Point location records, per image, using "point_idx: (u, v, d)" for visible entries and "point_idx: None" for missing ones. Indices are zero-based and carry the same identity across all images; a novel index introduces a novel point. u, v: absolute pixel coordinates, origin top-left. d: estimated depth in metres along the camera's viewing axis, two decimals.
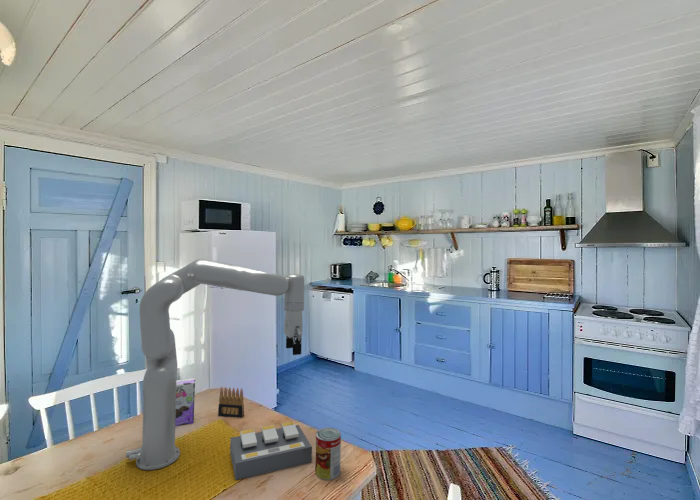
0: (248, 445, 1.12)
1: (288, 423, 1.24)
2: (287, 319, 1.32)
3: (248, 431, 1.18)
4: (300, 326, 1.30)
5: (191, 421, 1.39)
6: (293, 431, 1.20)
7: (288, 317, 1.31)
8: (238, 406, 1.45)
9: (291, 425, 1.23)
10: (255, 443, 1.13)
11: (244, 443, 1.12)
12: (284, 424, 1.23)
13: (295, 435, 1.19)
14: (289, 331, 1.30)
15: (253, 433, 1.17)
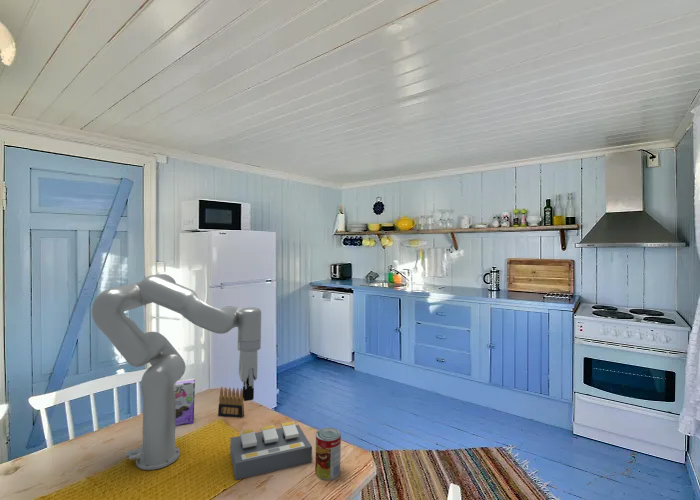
0: (248, 445, 1.12)
1: (288, 423, 1.24)
2: (240, 359, 1.16)
3: (248, 431, 1.18)
4: (254, 368, 1.14)
5: (191, 421, 1.39)
6: (293, 431, 1.20)
7: (241, 357, 1.15)
8: (238, 406, 1.45)
9: (291, 425, 1.23)
10: (255, 443, 1.13)
11: (244, 443, 1.12)
12: (284, 424, 1.23)
13: (295, 435, 1.19)
14: (242, 374, 1.14)
15: (253, 433, 1.17)
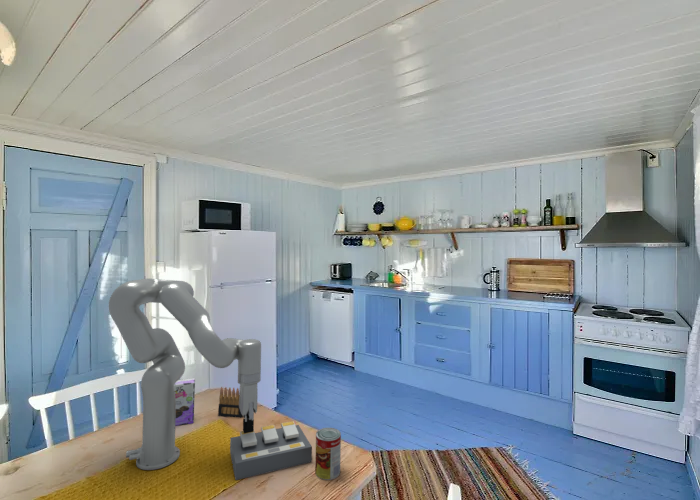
0: (248, 444, 1.12)
1: (288, 423, 1.24)
2: (240, 392, 1.17)
3: None
4: (254, 401, 1.15)
5: (191, 421, 1.39)
6: (293, 431, 1.20)
7: (241, 391, 1.16)
8: (238, 406, 1.45)
9: (291, 425, 1.23)
10: (255, 442, 1.13)
11: (244, 442, 1.12)
12: (284, 424, 1.23)
13: (295, 435, 1.19)
14: (242, 408, 1.14)
15: (253, 433, 1.18)
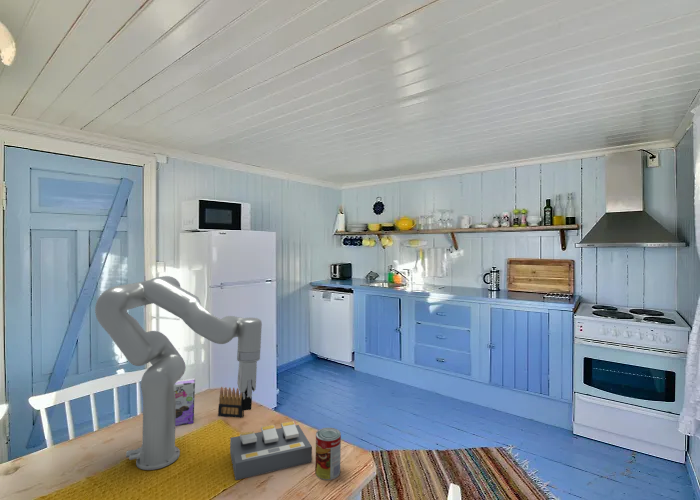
0: (248, 441, 1.13)
1: (288, 423, 1.24)
2: (239, 370, 1.16)
3: (248, 433, 1.18)
4: (253, 379, 1.14)
5: (191, 421, 1.39)
6: (293, 431, 1.20)
7: (240, 368, 1.15)
8: (238, 406, 1.45)
9: (291, 425, 1.23)
10: (255, 439, 1.14)
11: (244, 439, 1.13)
12: (284, 424, 1.23)
13: (295, 435, 1.19)
14: (240, 385, 1.14)
15: (253, 433, 1.18)
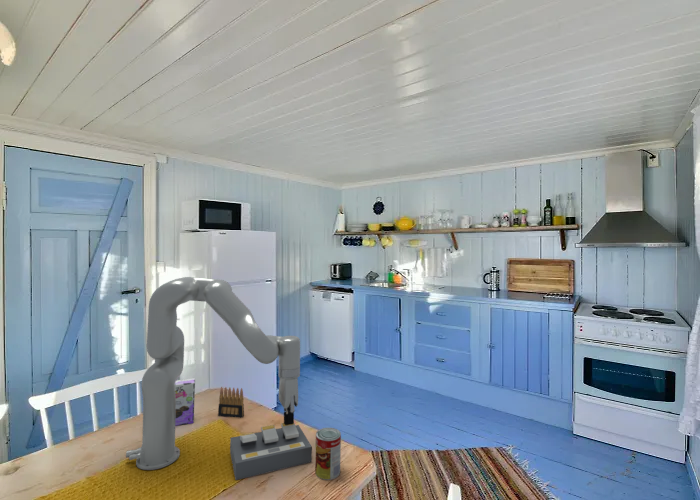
0: (248, 440, 1.13)
1: None
2: (282, 386, 1.22)
3: (248, 434, 1.18)
4: (296, 395, 1.20)
5: (191, 421, 1.39)
6: (293, 431, 1.20)
7: (283, 385, 1.21)
8: (238, 406, 1.45)
9: (291, 425, 1.23)
10: (255, 437, 1.14)
11: (244, 438, 1.13)
12: (284, 424, 1.23)
13: (295, 434, 1.19)
14: (284, 401, 1.20)
15: (253, 434, 1.18)
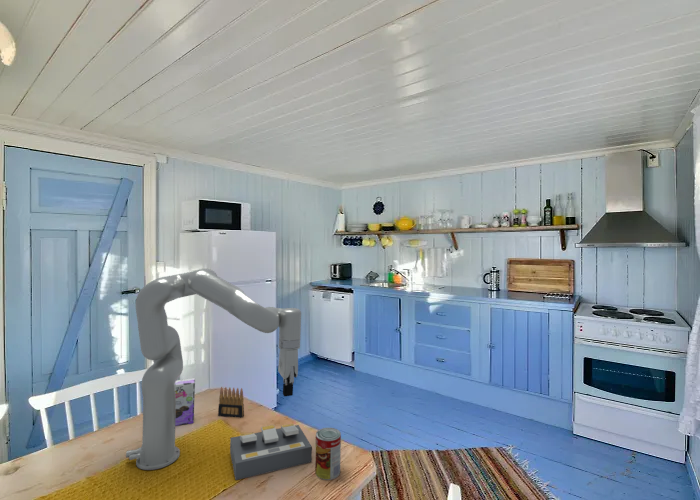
0: (248, 439, 1.13)
1: (288, 425, 1.24)
2: (281, 357, 1.22)
3: (248, 434, 1.18)
4: (295, 366, 1.20)
5: (191, 421, 1.39)
6: (293, 429, 1.20)
7: (283, 356, 1.21)
8: (238, 406, 1.45)
9: (291, 426, 1.23)
10: (255, 437, 1.14)
11: (244, 438, 1.13)
12: (284, 426, 1.23)
13: (295, 431, 1.19)
14: (283, 371, 1.20)
15: (253, 434, 1.18)
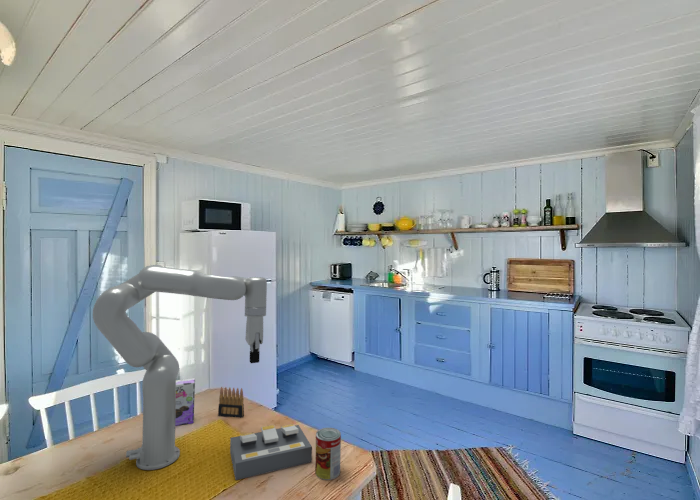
0: (248, 439, 1.13)
1: (288, 425, 1.24)
2: (247, 325, 1.24)
3: (248, 434, 1.18)
4: (260, 332, 1.22)
5: (191, 421, 1.39)
6: (293, 428, 1.20)
7: (248, 323, 1.23)
8: (238, 406, 1.45)
9: (291, 426, 1.23)
10: (255, 437, 1.14)
11: (244, 438, 1.13)
12: (284, 426, 1.23)
13: (295, 430, 1.19)
14: (248, 338, 1.22)
15: (253, 434, 1.18)
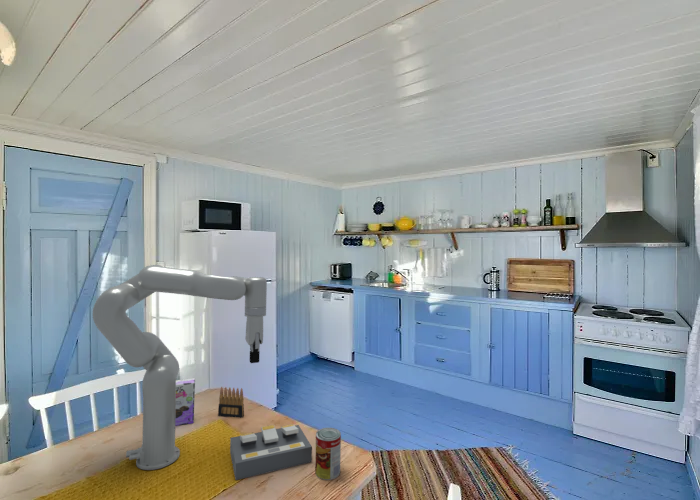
0: (248, 439, 1.13)
1: (288, 425, 1.24)
2: (247, 325, 1.24)
3: (248, 434, 1.18)
4: (260, 332, 1.22)
5: (191, 421, 1.39)
6: (293, 428, 1.20)
7: (248, 323, 1.23)
8: (238, 406, 1.45)
9: (291, 426, 1.23)
10: (255, 437, 1.14)
11: (244, 438, 1.13)
12: (284, 426, 1.23)
13: (295, 430, 1.19)
14: (248, 338, 1.22)
15: (253, 434, 1.18)
